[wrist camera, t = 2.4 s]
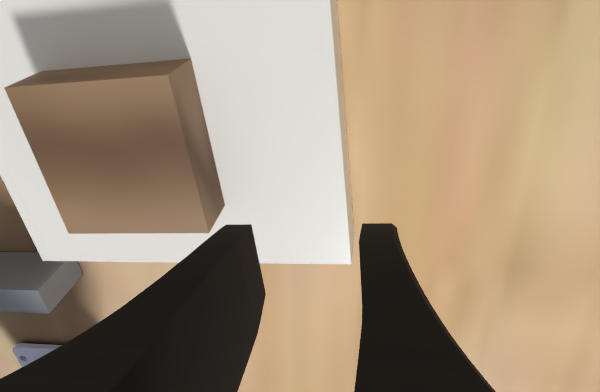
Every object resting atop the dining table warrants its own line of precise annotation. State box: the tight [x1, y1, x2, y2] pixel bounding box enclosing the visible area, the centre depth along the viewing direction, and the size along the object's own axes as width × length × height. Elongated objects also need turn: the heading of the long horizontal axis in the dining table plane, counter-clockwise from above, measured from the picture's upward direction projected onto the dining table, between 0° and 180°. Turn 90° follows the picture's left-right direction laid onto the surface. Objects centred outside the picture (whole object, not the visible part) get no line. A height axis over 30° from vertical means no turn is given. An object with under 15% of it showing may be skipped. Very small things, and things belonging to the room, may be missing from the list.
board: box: [0, 0, 354, 264], centre depth 19 cm, size 12×15×2 cm
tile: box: [4, 59, 225, 234], centre depth 17 cm, size 6×6×2 cm
